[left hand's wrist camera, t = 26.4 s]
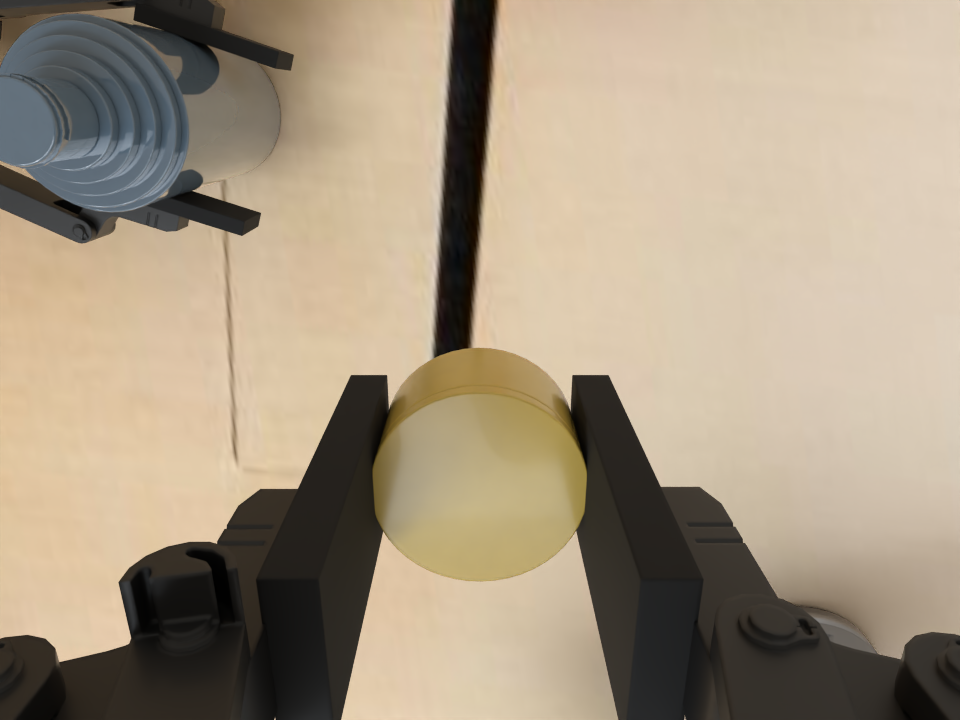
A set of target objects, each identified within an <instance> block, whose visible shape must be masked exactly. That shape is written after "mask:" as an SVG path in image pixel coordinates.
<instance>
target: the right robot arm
mask: <svg viewBox="0 0 960 720" xmlns="http://www.w3.org/2000/svg"><path fill="white" fill-rule="evenodd" d="M130 7H135V13H134V20H135V21H138V22H141V23H144V24H147V25H150V26H153V27H155V28H158V29H161V30H164V31H168V32H170V33H173V34H176V35H179V36H182V37H185V38H188V39H191V40H194V41H196V42H199V43H202V44H205V45H208V46H211V47H214V48H217V49H220V50H223V51H226V52H229V53H232V54H235V55H237V56H240V57H243V58H246V59H249V60H252V61H255V62H258V63H261V64H264V65H267V66H270V67H273V68H276V69H283V70H290V71H291V66H292V61H293V57H294V55H293V54H290V53H287V52H284V51H281V50H278V49H275V48H272V47H269V46H266V45H264V44H261V43H258V42H255V41H252V40H249V39H246V38H243V37H240V36H237V35H235V34H232V33H229V32H226V31H223V30H222V25H223V19H224V14H225V9H224V8H223V7H222V6H221V5H220V4H218V3H217V2H216V1H214V0H0V19H6V18H19V17H26V16H27V15H37V14H51V13H64V12H77V11H90V10H104V9H117V8H130ZM1 31H2V21H0V39H1ZM0 208H1V209H3V210H5V211H8V212H10V213H12V214H14V215H17V216H19V217H21V218H23V219H26V220H28V221H30V222H32V223H35V224H37V225H39V226H41V227H44V228H46V229H48V230H50V231H53V232H55V233H57V234H60V235H62V236H64V237H66V238H69V239H71V240H73V241H75V242H78V243H87V242H89V241H92V240H95V239H97V238H100V237H103V236H106V235H108V234H110V233H112V232H113V231H114V230H115V225H116V224H115V222H116V220H117V219H118V217H121V218H124V219H128V220H131V221H134V222H137V223H140V224H144V225H148V226H150V227H153V228H157V229H160V230H163V231H166V232H167V231H178V230H180V229H182V228H184V227H187V226H188V222H189V219H190V220H193V221H196V222H199V223H202V224H206V225H209V226H212V227H215V228H218V229H222V230H225V231H228V232H231V233H234V234H238V235H241V236H243V235H244V234H246V233H248V232H249V231H251V230H253V229H254V228H256V227H258V225H259V220H260V215H261V213H259V212H256V211H253V210H250V209H247V208H244V207H241V206H237V205H234V204H231V203H228V202H225V201H222V200H219V199H215V198H212V197H209V196H206V195H203V194H200V193H196V192H193V191H189V192H186V193H183V194H180V195H177V196H174V197H171V198H168V199H165V200H162V201H159V202H156V203H153V204H150V205H147V206H143V207H140V208H137V209H134V210H130V211H124V212H102V211H95V210H91V209H87V208H84V207H81V206H78V205H75V204H73V203H71V202H69V201H67V200H64V199H63V198H61V197H59V196H58V195H56V194H55V193H53V192H51V191H50V190H49V189H47V188H46V187H44V186H43V185H42V184H41V183H39V182H37V181H35V180H33V179H31V178H29V177H26V176H24V175H22V174H20V173H18V172H15V171H13V170H11V169H9V168H6V167H4V166H2V165H0Z"/></svg>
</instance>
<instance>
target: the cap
mask: <svg viewBox="0 0 960 720" xmlns="http://www.w3.org/2000/svg"><path fill="white" fill-rule="evenodd" d="M372 473H373V489H374V505H375V515H376V518H377V520H378V522H379V524H380V526H381V528H382V530H383V531H384V533H385V534H386V536H387V537H388V539H389V540H390V541H391V542H392V544H393V545H394V546H395V547H396V548H397V549H398V550H399V551H400V552H401V553H402V554H404V555H405V556H406V557H407V558H409V559H410V560H411V561H413V562H414V563H416V564H417V565H419V566H421V567H423V568H425V569H427V570H429V571H431V572H434V573H436V574H439V575H442V576H445V577H449V578H453V579H459V580H466V581H494V580H500V579H506V578H510V577H513V576H517V575H520V574H523V573H525V572H528V571H530V570H532V569H534V568H536V567H538V566H540V565H541V564H543V563H545V562H546V561H548V560H549V559H550V558H552V557H553V556H554V555H556V554H557V553H558V552H559V551H560V550H561V549H562V548H563V547H564V546H565V545H566V544H567V542H568V541H569V540H570V539H571V537H572V536H573V534H574V533H575V531H576V530H577V528H578V526H579V524H580V522H581V520H582V517H583V515H584V512H585V498H586V482H587V467H586V463H585V459H584V456H583V452H582V449H581V446H580V442H579V439H578V435H577V432H576V428H575V425H574V422H573V418H572V415H571V412H570V409H569V406H568V403H567V401H566V399H565V397H564V395H563V393H562V391H561V390H560V388H559V387H558V386H557V384H556V383H555V382H554V380H553V379H552V378H551V377H550V376H549V375H548V374H547V373H546V372H544V371H543V370H542V369H541V368H539V367H538V366H537V365H535V364H534V363H532V362H530V361H529V360H527V359H525V358H522V357H520V356H518V355H516V354H513V353H509V352H506V351H502V350H496V349H490V348H471V349H462V350H457V351H453V352H450V353H447V354H444V355H441V356H439V357H436V358H434V359H432V360H430V361H428V362H427V363H425V364H424V365H422V366H421V367H419V368H418V369H417V370H416V371H415V372H414V373H412V374H411V375H410V376H409V377H408V378H407V379H406V381H405V382H404V383H403V384H402V385H401V387H400V388H399V390H398V391H397V393H396V395H395V397H394V399H393V401H392V403H391V405H390V409H389V412H388V415H387V419H386V422H385V426H384V429H383V432H382V436H381V439H380V443H379V446H378V449H377V453H376V456H375V460H374V463H373V467H372Z"/></svg>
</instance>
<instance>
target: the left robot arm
mask: <svg viewBox="0 0 960 720" xmlns="http://www.w3.org/2000/svg"><path fill="white" fill-rule="evenodd" d="M388 412H389V403H388V384H387V375H351V377H350V379H349V381H348V383H347V385H346V387H345V389H344V392H343V394H342V396H341V398H340V400H339V402H338V404H337V406H336V409H335V411H334V413H333V415H332V417H331V419H330V421H329V424H328V426H327V428H326V430H325V432H324V434H323V436H322V439H321V441H320V443H319V445H318V447H317V449H316V451H315V454H314V456H313V458H312V460H311V462H310V464H309V466H308V469H307V471H306V473H305V475H304V477H303V479H302V481H301V484H300V486H299V488H298V489H260V490H259V491H257V492H256V493H255V494H253V495H252V496H251V497H249V498H248V499H247V500H245V501H244V502H243V503H241V504H240V505H239V506H238V507H237V509H236V511H235V512H234V514H233V516H232V518H231V519H230V521H229V523H228V524H227V529H224V531H223V533H222V534H221V536H220V538H219V539H218V541H217V544H215V543H212V542H187V543H182V544H178V545H173V546H168V547H166V548H163V549H161V550H159V551H156V552H154V553H152V554H149V555H147V556H145V557H144V558H143V559H141V560H140V561H138V562H137V563H136V564H134V565H133V566H131V567H130V568H129V569H128V570H127V572H126V573H125V574H124V576H123V577H122V578H121V580H120V581H119V586H120V591H121V595H122V599H123V604H124V608H125V613H126V617H127V621H128V626H129V630H130V634H131V641H130V643H129V644H128V645H126V646H123V647H119V648H116V649H113V650H110V651H106V652H102V653H97V654H93V655H89V656H85V657H80V658H76V659H72V660H67V661H63V662H59V660H58V657H57V653H56V649H55V648H54V647H53V646H52V645H51V644H50V643H49V642H48V641H47V640H46V639H44V638H39V637H35V636H30V635H23V636H14V637H4V638H1V639H0V720H274V719H275V718H276V720H341V717H342V713H343V708H344V704H345V700H346V695H347V691H348V686H349V682H350V677H351V673H352V668H353V664H354V659H355V655H356V650H357V646H358V641H359V637H360V632H361V628H362V623H363V619H364V615H365V610H366V606H367V601H368V597H369V592H370V588H371V583H372V579H373V574H374V570H375V565H376V561H377V556H378V552H379V547H380V543H381V539H382V534H383V530H382V528H381V526H380V524H379V522H378V520H377V518H376V515H375V505H374V489H373V473H372V467H373V463H374V460H375V456H376V453H377V449H378V446H379V443H380V439H381V436H382V432H383V429H384V426H385V422H386V419H387V415H388ZM571 415H572V418H573V422H574V425H575V428H576V432H577V435H578V439H579V442H580V446H581V449H582V452H583V456H584V459H585V463H586V467H587V482H586V498H585V512H584V515H583V517H582V520H581V522H580V524H579V526H578V528H577V530H576V531H577V536H578V540H579V545H580V549H581V554H582V558H583V563H584V567H585V572H586V576H587V581H588V585H589V590H590V594H591V599H592V603H593V608H594V612H595V616H596V621H597V625H598V630H599V634H600V639H601V643H602V648H603V652H604V657H605V661H606V666H607V670H608V675H609V679H610V684H611V688H612V693H613V697H614V701H615V706H616V710H617V715H618V719H619V720H684V715H685V717H686V720H960V636H959V635H956V634H946V633H936V632H931V633H926V634H921V635H916V636H914V637H913V638H912V639H911V640H910V641H909V642H908V643H907V644H906V645H905V647H904V651H903V655H902V658H901V659H896V658H892V657H888V656H883V655H879V654H877V652H876V651H875V649H874V648H873V647H872V645H871V644H870V642H869V641H868V640H867V638H866V637H865V636H864V634H863V633H862V632H861V631H860V630H859V629H858V628H857V627H856V626H855V625H853V624H852V623H851V622H849V621H848V620H846V619H844V618H842V617H841V616H838V615H836V614H834V613H831V612H828V611H825V610H821V609H816V608H810V607H797V606H795V605H793V604H791V603H789V602H787V601H785V600H783V599H779V598H778V597H777V596H776V594H775V592H774V591H773V589H772V587H771V586H770V584H769V582H768V581H767V579H766V577H765V576H764V574H763V572H762V571H761V569H760V567H759V566H758V564H757V562H756V561H755V559H754V557H753V556H752V554H751V552H750V551H749V549H748V547H747V546H746V544H745V543H743V539H742V537H741V536H740V534H739V532H738V531H737V529H736V527H733V522H732V521H731V519H730V517H729V516H728V514H727V512H726V511H725V509H724V507H723V505H722V504H721V503H720V502H719V501H717V500H716V499H715V498H713V497H712V496H711V495H709V494H708V493H707V492H705V491H704V490H703V489H701V488H700V487H660V485H659V482H658V480H657V478H656V476H655V474H654V472H653V470H652V467H651V465H650V463H649V461H648V459H647V457H646V455H645V452H644V450H643V448H642V446H641V444H640V442H639V440H638V437H637V435H636V433H635V431H634V429H633V427H632V425H631V422H630V420H629V418H628V416H627V414H626V412H625V410H624V407H623V405H622V403H621V401H620V399H619V397H618V395H617V392H616V390H615V388H614V386H613V384H612V382H611V380H610V377H609V375H573V376H572V395H571Z"/></svg>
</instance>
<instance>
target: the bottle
mask: <svg viewBox="0 0 960 720" xmlns="http://www.w3.org/2000/svg"><path fill="white" fill-rule="evenodd" d="M279 130H280V106H279V101H278V98H277V94H276V92H275V89H274V86H273V85H272V83H271V81H270V79H269V77H268V76H267V74H266V73H265V71H264V70H263V69H262V68H261V67H260V65H259V64H258V63H257V62H255V61H252V60H249V59H246V58H243V57H240V56H237V55H235V54H232V53H229V52H226V51H223V50H220V49H217V48H214V47H211V46H208V45H205V44H202V43H199V42H196V41H194V40H191V39H188V38H185V37H182V36H179V35H176V34H173V33H170V32H168V31H164V30H160V29H156V28H151V27H146V26H141V25H137V24H132V23H127V22H122V21H118V20H113V19H108V18H103V17H99V16H94V15H88V14H78V13H77V14H62V15H57V16H52V17H50V18H47V19H44V20H42V21H40V22H38V23H36V24H34V25H33V26H31V27H30V28H28V29H27V30H26V31H25V32H24V33H22V34H21V35H20V36H19V38H18V39H17V40H16V41H15V42H14V43H13V45H12V46H11V48H10V49H9V51H8V52H7V54H6V55H5V57H4V59H3V62H2V64H1V66H0V160H1V161H3V162H5V163H7V164H10V165H13V166H16V167H20V168H25V169H26V170H27V172H28V173H29V174H30V175H32V176H33V177H34V178H35V179H36V180H37V181H38V182H39V183H41V184H42V185H43V186H44V187H46V188H47V189H49V190H50V191H51V192H53V193H55V194H56V195H58V196H59V197H61V198H63V199H64V200H67V201H69V202H71V203H73V204H75V205H78V206H81V207H84V208H87V209H91V210H95V211H102V212H124V211H130V210H134V209H137V208H140V207H143V206H147V205H150V204H153V203H156V202H159V201H162V200H165V199H168V198H171V197H174V196H177V195H180V194H183V193H186V192H189V191H192V190H195V189H198V188H201V187H204V186H208V185H211V184H214V183H217V182H220V181H223V180H226V179H229V178H232V177H235V176H238V175H241V174H244V173H247V172H249V171H251V170H253V169H254V168H256V167H257V166H259V165H260V164H261V163H262V162H263V161H264V160H265V159H266V158H267V157H268V155H269V154H270V153H271V151H272V149H273V148H274V146H275V143H276V141H277V138H278V134H279Z"/></svg>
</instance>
